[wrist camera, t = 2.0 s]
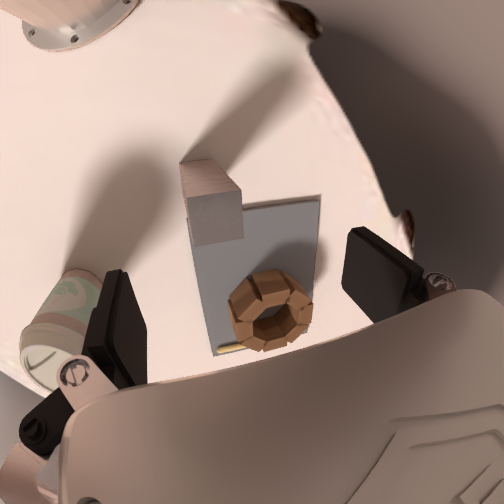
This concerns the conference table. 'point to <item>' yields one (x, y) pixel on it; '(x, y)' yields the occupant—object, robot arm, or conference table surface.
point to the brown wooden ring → (261, 297)
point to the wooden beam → (211, 203)
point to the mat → (255, 262)
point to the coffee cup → (59, 327)
